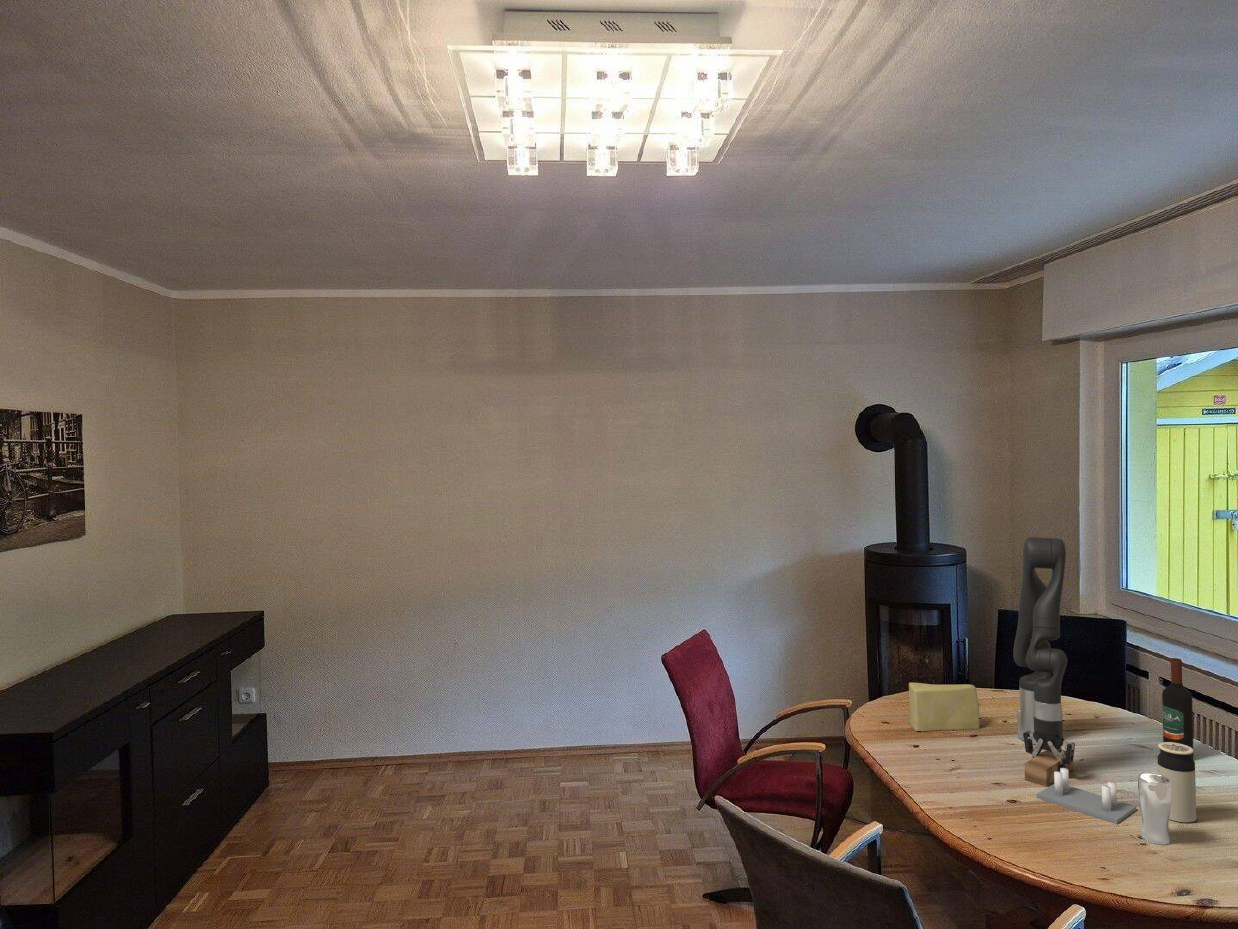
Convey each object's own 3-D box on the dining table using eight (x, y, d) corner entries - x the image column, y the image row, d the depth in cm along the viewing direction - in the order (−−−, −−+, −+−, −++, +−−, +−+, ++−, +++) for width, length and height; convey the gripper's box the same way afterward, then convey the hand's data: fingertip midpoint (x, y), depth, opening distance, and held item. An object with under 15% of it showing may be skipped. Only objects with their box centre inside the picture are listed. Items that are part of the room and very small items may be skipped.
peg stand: (1036, 797, 215) (1035, 772, 215) (1057, 785, 222) (1056, 761, 222) (1116, 824, 199) (1116, 797, 199) (1136, 810, 206) (1135, 783, 206)
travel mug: (1197, 826, 197) (1196, 755, 196) (1159, 819, 201) (1157, 750, 201) (1194, 813, 203) (1193, 744, 203) (1157, 807, 208) (1156, 739, 207)
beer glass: (1131, 833, 194) (1130, 773, 194) (1158, 831, 195) (1156, 771, 195) (1153, 847, 188) (1151, 785, 187) (1180, 844, 188) (1178, 783, 188)
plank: (1046, 787, 222) (1046, 769, 222) (1024, 780, 226) (1024, 763, 226) (1072, 769, 233) (1072, 752, 233) (1051, 763, 238) (1051, 747, 238)
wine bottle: (1198, 762, 235) (1196, 663, 235) (1170, 761, 237) (1168, 662, 236) (1186, 752, 242) (1183, 656, 242) (1158, 751, 244) (1156, 655, 244)
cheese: (974, 723, 273) (973, 681, 273) (983, 734, 264) (982, 689, 263) (909, 722, 276) (907, 680, 276) (915, 732, 267) (914, 689, 267)
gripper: (1016, 712, 233) (1018, 768, 233) (1067, 725, 222) (1069, 783, 222) (1029, 707, 238) (1030, 762, 238) (1079, 719, 226) (1081, 776, 226)
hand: (1049, 772), depth 230 cm, fingers closed on plank, 6 cm apart
